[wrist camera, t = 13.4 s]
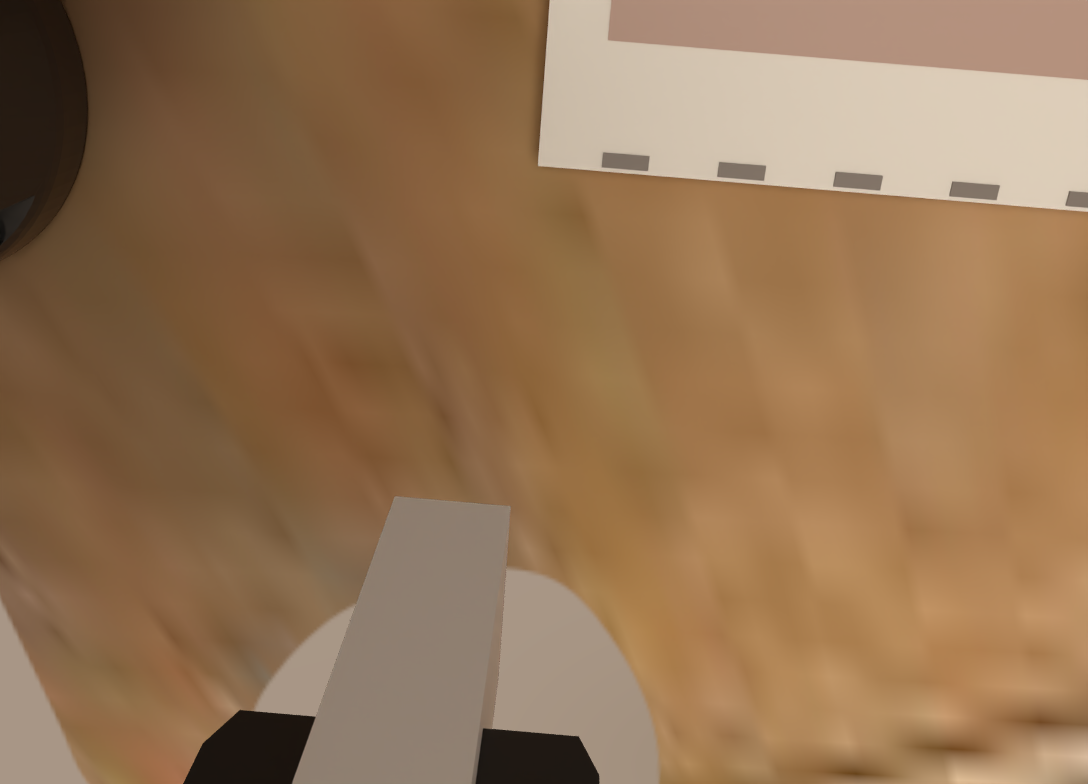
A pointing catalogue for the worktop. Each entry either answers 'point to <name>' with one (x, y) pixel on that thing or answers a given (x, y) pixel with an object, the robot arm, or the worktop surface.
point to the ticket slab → (826, 95)
